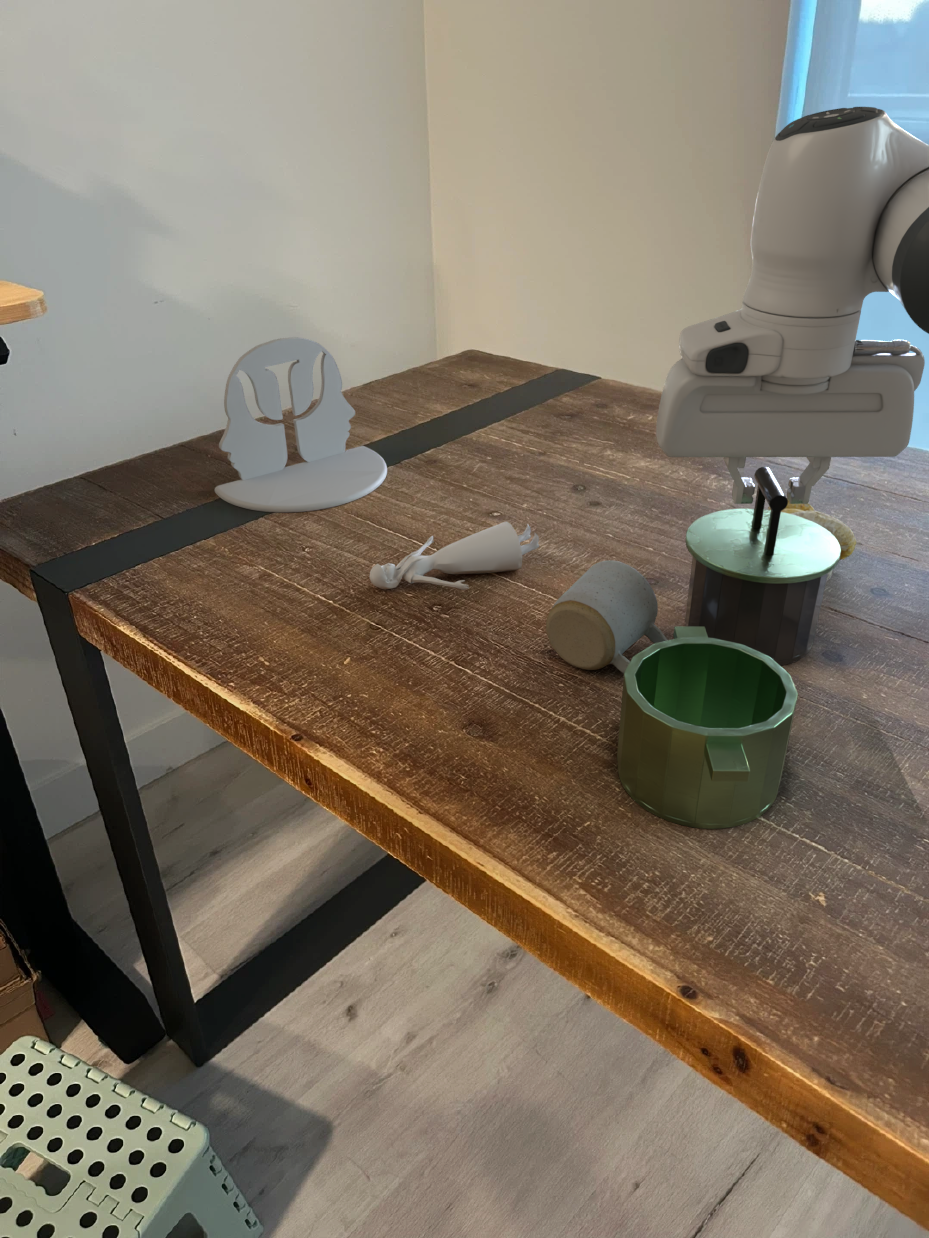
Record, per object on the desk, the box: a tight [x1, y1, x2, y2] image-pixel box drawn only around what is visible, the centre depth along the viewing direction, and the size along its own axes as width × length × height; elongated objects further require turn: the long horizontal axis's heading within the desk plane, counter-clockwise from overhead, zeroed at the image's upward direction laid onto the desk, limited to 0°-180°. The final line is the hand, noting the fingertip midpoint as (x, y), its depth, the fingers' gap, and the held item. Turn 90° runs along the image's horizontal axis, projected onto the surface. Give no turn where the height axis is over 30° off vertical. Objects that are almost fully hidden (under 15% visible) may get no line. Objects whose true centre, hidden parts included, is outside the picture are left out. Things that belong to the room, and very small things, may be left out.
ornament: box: [214, 336, 388, 513], centre depth 117 cm, size 22×13×17 cm, turn 126°
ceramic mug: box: [545, 559, 668, 674], centre depth 86 cm, size 11×8×8 cm
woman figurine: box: [369, 521, 540, 591], centre depth 101 cm, size 12×4×18 cm
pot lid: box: [684, 466, 841, 584], centre depth 85 cm, size 13×13×7 cm
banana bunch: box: [766, 499, 857, 582], centre depth 102 cm, size 10×6×15 cm
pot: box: [616, 625, 799, 830], centre depth 72 cm, size 12×17×8 cm
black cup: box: [684, 556, 828, 667], centre depth 89 cm, size 12×12×9 cm
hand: (769, 501), depth 84 cm, fingers open, 3 cm apart
